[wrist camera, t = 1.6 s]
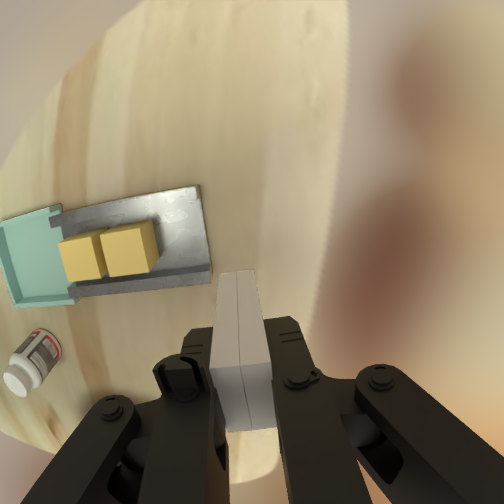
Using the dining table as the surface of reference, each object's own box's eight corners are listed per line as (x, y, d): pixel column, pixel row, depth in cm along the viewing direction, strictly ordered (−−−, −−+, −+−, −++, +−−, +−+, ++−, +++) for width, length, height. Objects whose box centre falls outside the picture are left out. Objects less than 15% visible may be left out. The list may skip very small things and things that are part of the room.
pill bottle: (36, 352, 32) (4, 391, 23) (31, 322, 31) (-6, 360, 22) (64, 364, 33) (35, 408, 24) (60, 334, 32) (25, 378, 22)
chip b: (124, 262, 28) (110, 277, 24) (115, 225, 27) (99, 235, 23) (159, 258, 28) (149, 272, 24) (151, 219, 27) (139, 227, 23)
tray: (24, 300, 30) (14, 308, 27) (2, 221, 26) (-10, 225, 24) (84, 294, 30) (75, 304, 28) (60, 203, 27) (49, 207, 24)
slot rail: (81, 287, 30) (70, 298, 27) (62, 212, 27) (48, 217, 24) (213, 271, 30) (210, 282, 27) (199, 184, 27) (195, 186, 25)
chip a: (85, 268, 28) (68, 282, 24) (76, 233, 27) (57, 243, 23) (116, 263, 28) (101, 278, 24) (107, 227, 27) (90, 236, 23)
